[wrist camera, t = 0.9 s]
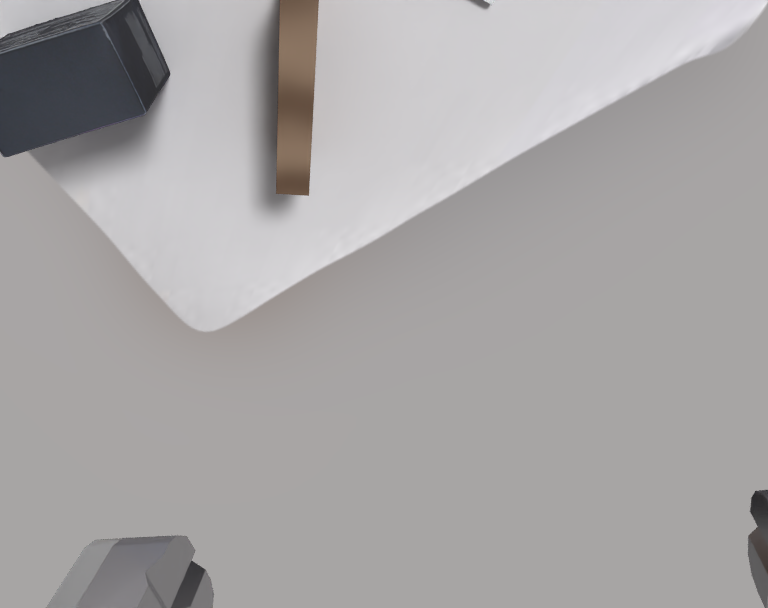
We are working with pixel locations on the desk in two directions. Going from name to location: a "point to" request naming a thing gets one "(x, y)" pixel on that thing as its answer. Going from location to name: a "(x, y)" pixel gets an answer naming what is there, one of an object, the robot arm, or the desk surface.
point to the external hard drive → (489, 1)
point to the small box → (77, 75)
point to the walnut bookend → (296, 94)
